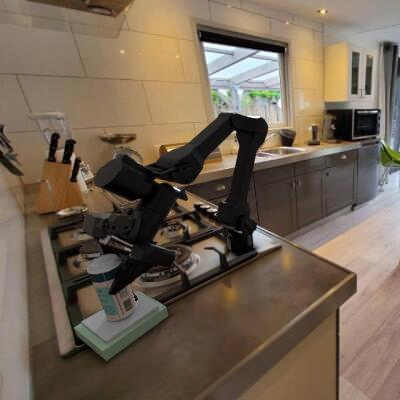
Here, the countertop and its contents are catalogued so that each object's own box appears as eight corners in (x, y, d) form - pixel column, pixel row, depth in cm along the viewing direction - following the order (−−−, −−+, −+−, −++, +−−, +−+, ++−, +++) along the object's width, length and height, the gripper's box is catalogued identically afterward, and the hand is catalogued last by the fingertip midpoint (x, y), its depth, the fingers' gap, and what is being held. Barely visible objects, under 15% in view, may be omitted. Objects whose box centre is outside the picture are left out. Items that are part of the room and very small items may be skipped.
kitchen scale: (142, 297, 56) (138, 286, 55) (170, 314, 52) (167, 302, 51) (78, 336, 47) (72, 324, 45) (106, 361, 42) (100, 347, 41)
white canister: (138, 299, 51) (122, 249, 47) (136, 316, 47) (118, 263, 43) (109, 308, 49) (88, 257, 44) (104, 326, 45) (81, 272, 41)
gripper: (83, 183, 47) (23, 265, 42) (142, 202, 39) (77, 305, 34) (138, 207, 56) (95, 276, 51) (195, 226, 48) (150, 310, 43)
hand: (103, 289), depth 45 cm, fingers closed on white canister, 5 cm apart
